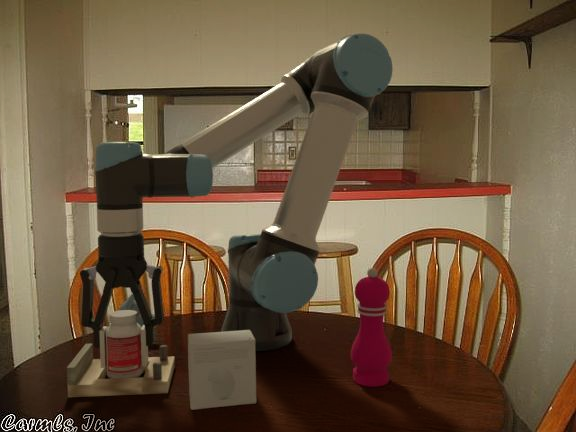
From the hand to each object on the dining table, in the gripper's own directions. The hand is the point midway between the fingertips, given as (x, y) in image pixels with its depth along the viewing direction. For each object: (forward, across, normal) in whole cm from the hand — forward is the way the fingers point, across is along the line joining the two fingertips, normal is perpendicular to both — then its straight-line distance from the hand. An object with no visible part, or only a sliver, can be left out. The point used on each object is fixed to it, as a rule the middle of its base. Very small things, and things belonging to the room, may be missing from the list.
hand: (125, 363), depth 97 cm
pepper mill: (+3, -43, +4) cm, 43 cm away
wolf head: (+3, +1, -22) cm, 22 cm away
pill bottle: (+2, 0, 0) cm, 2 cm away
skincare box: (+3, -17, +9) cm, 19 cm away
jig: (+3, 0, 0) cm, 3 cm away
